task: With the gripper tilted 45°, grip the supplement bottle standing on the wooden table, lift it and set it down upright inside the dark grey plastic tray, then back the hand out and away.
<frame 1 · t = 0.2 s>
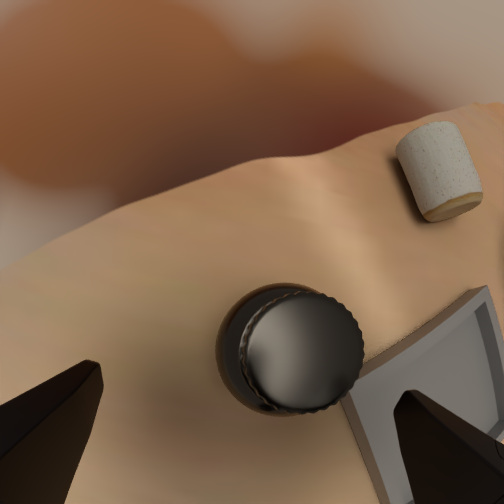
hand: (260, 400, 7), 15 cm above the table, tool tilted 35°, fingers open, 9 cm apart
ceramic mug: (427, 187, 28), on the table
tray: (439, 409, 22), on the table
supplement bottle: (261, 346, 22), on the table
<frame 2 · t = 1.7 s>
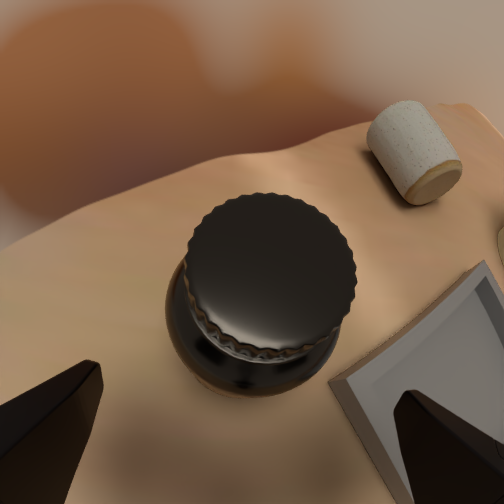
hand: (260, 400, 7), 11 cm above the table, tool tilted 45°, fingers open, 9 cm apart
ceramic mug: (405, 176, 29), on the table
tray: (459, 405, 18), on the table
supplement bottle: (237, 345, 19), on the table
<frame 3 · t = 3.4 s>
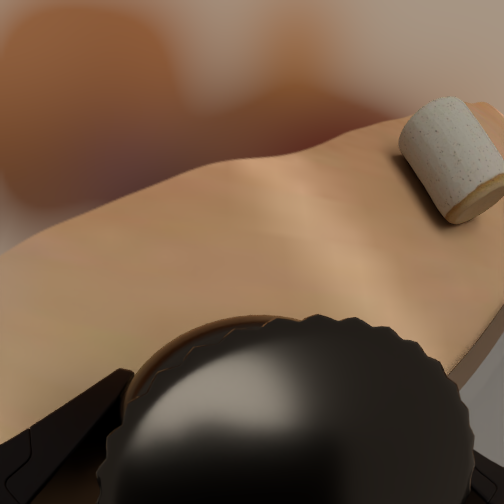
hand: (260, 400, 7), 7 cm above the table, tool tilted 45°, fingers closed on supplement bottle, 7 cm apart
ceramic mug: (440, 186, 23), on the table
tray: (489, 459, 12), on the table
supplement bottle: (234, 424, 13), on the table, touching gripper
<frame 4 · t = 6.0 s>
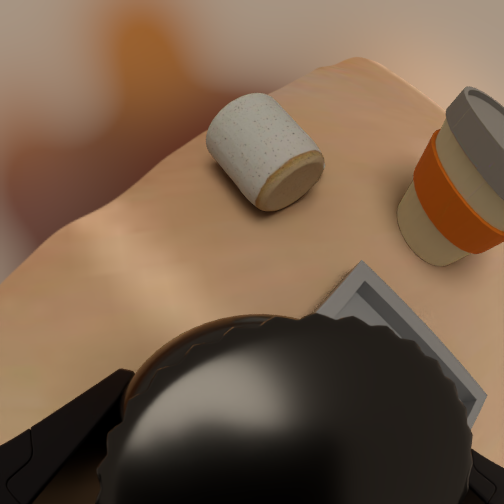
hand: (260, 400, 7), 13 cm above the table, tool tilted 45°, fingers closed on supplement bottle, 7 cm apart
ceramic mug: (268, 175, 29), on the table
tray: (357, 426, 19), on the table
supplement bottle: (234, 423, 13), point 6 cm above the table, touching gripper
reusable coffee cup: (428, 229, 29), on the table
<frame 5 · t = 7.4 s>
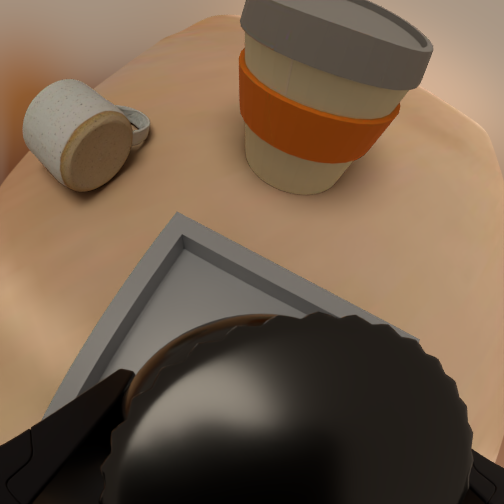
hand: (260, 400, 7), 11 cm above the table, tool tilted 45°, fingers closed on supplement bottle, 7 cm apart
ceramic mug: (98, 155, 24), on the table
tray: (230, 413, 16), on the table
supplement bottle: (235, 423, 13), point 4 cm above the table, touching gripper
reusable coffee cup: (293, 157, 27), on the table
when the fingers open (9 cm above the table, at t = 8.4 s): supplement bottle drops 1 cm, resting on tray.
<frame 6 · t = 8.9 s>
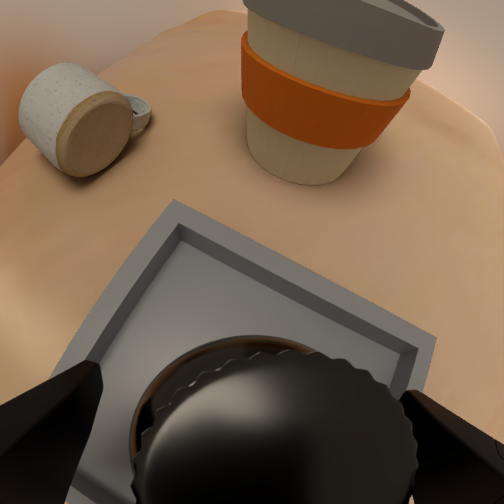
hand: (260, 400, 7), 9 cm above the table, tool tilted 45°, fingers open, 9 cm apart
ceramic mug: (96, 142, 23), on the table
tray: (231, 420, 15), on the table
supplement bottle: (233, 425, 14), point 1 cm above the table, touching tray
reusable coffee cup: (297, 147, 25), on the table
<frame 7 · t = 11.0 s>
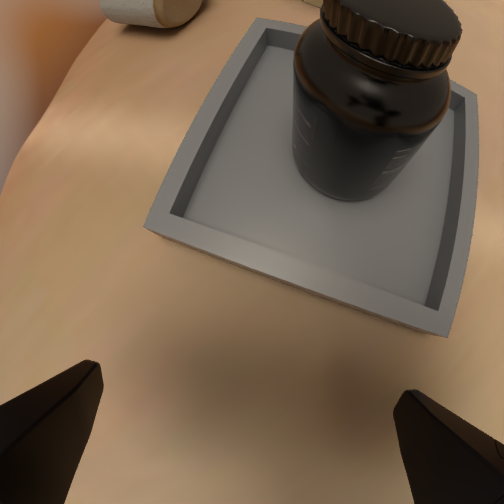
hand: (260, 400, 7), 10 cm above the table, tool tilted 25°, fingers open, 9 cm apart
ceramic mug: (171, 12, 23), on the table
tray: (340, 155, 18), on the table
supplement bottle: (343, 154, 18), point 1 cm above the table, touching tray
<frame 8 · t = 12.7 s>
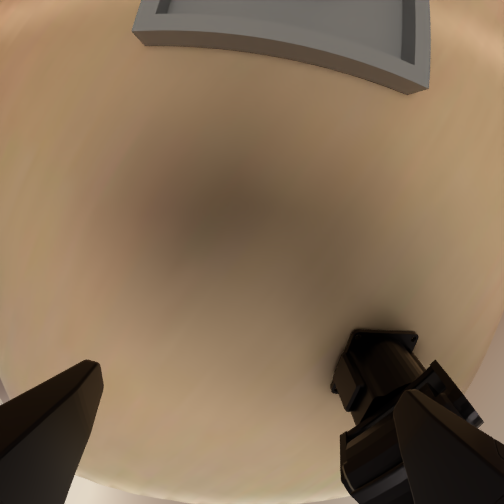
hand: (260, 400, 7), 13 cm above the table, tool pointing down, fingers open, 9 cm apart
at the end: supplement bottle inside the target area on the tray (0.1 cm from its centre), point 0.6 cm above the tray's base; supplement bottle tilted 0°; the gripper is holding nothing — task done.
